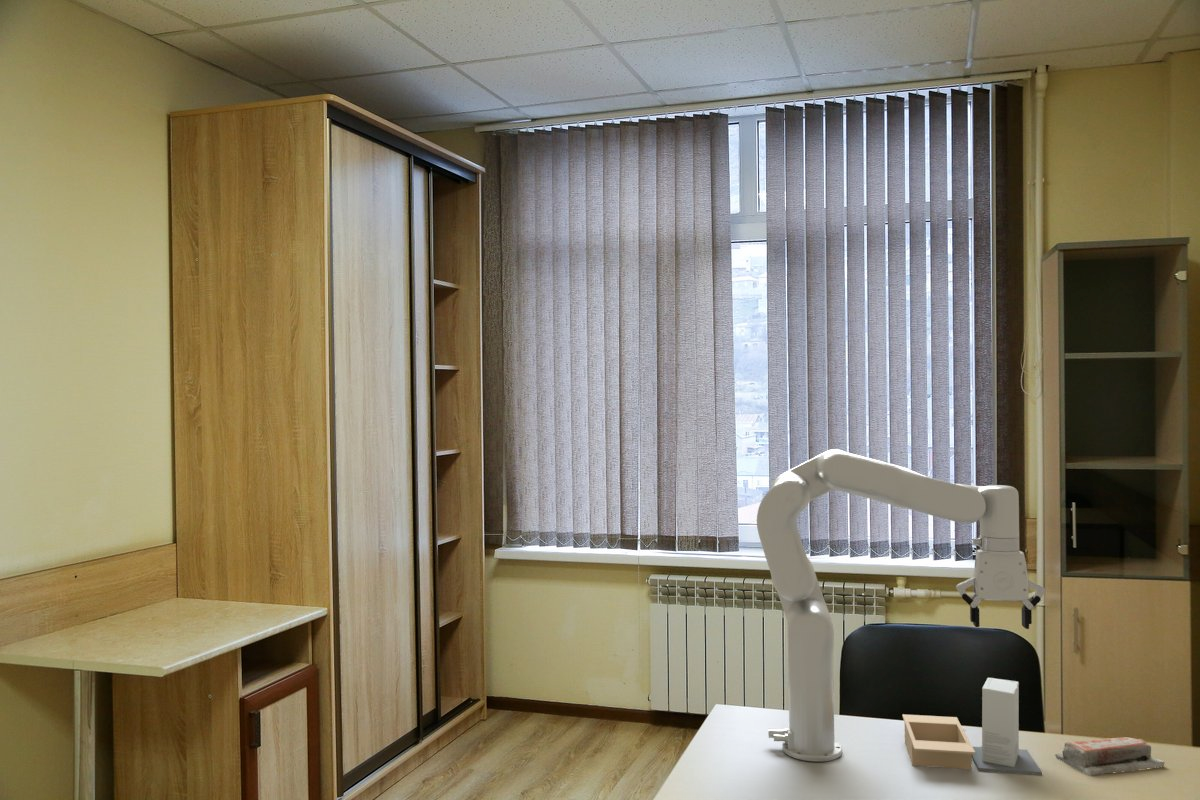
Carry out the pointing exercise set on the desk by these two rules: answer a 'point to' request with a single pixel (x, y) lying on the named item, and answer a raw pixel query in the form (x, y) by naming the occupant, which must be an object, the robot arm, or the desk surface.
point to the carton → (937, 742)
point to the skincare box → (1000, 722)
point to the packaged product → (1109, 755)
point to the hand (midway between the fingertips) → (1000, 626)
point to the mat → (1022, 766)
